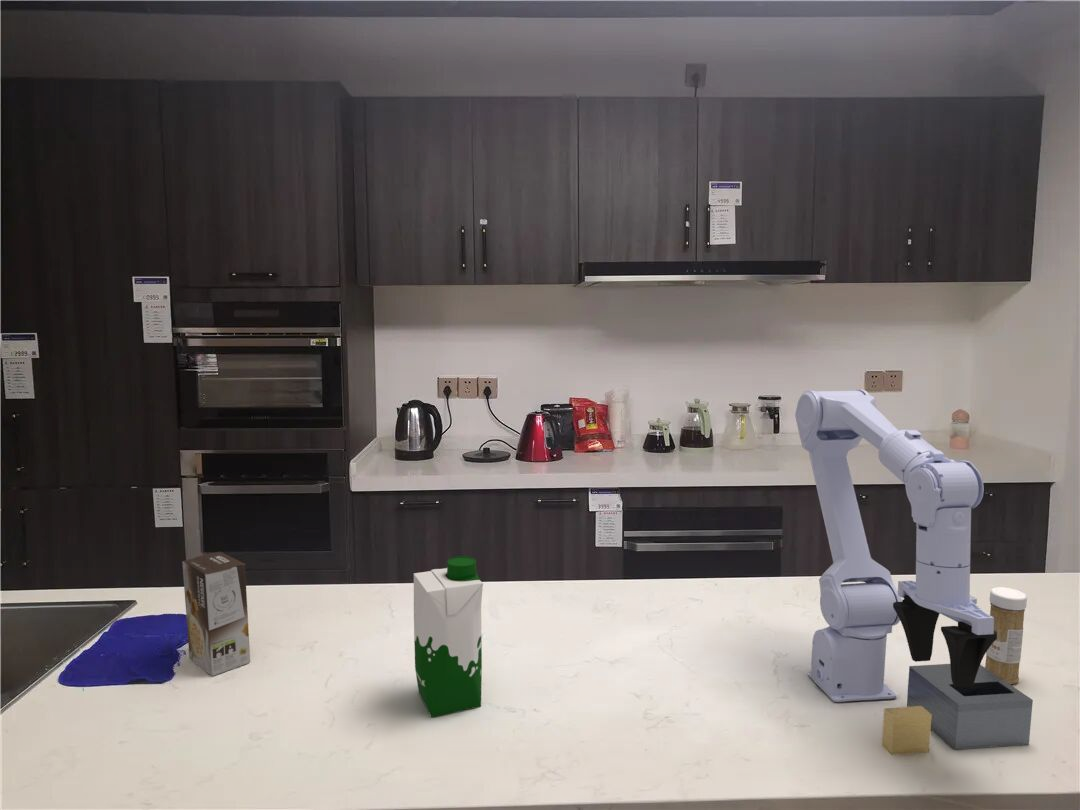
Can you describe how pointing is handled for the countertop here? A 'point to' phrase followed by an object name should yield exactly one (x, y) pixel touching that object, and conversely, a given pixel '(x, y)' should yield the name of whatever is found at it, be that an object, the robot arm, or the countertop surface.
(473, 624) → the milk carton
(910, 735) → the block
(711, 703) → the countertop surface
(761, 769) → the countertop surface
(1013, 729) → the box
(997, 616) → the sprinkles bottle
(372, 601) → the countertop surface
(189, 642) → the coffee box
